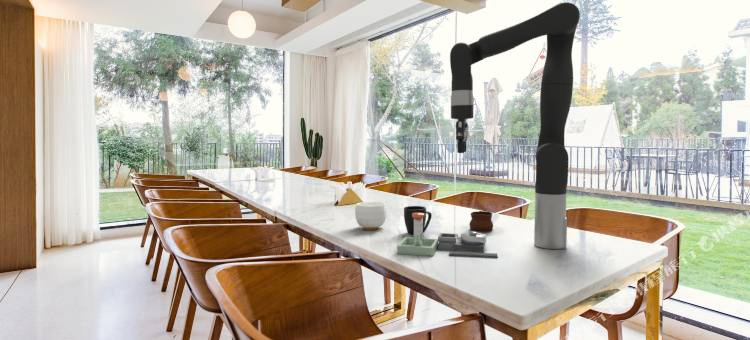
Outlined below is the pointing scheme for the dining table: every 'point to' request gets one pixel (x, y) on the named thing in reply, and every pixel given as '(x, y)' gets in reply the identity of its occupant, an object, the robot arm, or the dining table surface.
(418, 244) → the lock pin
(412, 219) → the mug
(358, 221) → the cup
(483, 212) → the ceramic pot
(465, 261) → the dining table surface
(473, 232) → the grey stepped block
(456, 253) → the strip
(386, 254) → the dining table surface
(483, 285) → the dining table surface
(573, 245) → the dining table surface
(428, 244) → the tray
